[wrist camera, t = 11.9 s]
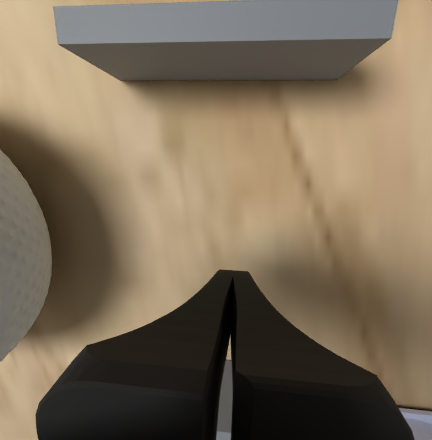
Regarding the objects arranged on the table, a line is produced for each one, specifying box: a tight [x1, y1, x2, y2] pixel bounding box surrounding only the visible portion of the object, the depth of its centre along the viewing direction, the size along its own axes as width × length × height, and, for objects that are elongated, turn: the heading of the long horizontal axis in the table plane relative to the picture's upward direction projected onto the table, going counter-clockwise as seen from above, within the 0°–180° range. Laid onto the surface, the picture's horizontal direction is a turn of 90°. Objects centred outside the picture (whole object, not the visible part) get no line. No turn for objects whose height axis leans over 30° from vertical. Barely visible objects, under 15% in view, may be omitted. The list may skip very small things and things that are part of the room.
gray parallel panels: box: [53, 0, 398, 440], centre depth 14 cm, size 21×12×5 cm, turn 179°
